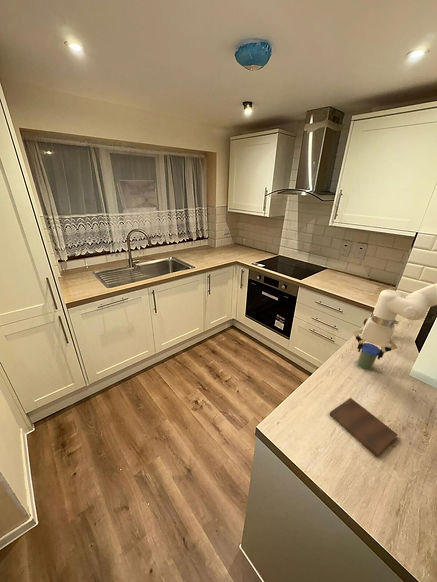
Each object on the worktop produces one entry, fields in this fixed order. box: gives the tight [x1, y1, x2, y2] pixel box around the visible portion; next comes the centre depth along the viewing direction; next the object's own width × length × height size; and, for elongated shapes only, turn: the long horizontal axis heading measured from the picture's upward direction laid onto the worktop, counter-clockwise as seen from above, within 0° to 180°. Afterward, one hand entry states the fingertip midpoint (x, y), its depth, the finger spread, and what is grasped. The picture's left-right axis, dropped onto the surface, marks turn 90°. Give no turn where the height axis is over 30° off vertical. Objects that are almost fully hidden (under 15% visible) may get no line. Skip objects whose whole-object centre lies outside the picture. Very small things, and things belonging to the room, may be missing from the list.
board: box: [329, 397, 398, 458], centre depth 78 cm, size 16×12×2 cm
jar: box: [356, 349, 378, 371], centre depth 103 cm, size 6×6×9 cm
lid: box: [361, 342, 381, 357], centre depth 101 cm, size 7×7×2 cm
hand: (368, 353), depth 102 cm, fingers closed on lid, 6 cm apart
